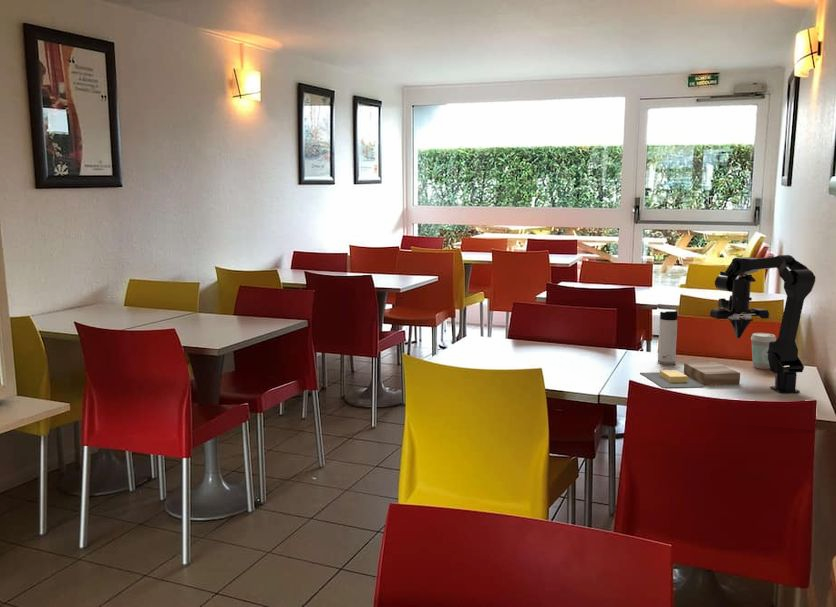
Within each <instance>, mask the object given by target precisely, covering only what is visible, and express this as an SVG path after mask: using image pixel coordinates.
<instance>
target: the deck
mask: <svg viewBox="0 0 836 607" xmlns="http://www.w3.org/2000/svg"><path fill="white" fill-rule="evenodd" d="M683 374H685V375H686V376H688V377H689V378H690V379H692V380H694V381H696V382H697V383H699V384H701V385H703V386H704V387H705V386H706V387H709V386H710V387H712V386H713V387H714V386H739V385H740V383H741V382H740V381H741V372H739V371H737V370H735V369H732V368H730V367H728V366H726V365H723V364H722V363H720V362H716V361H714V362H713V361H711V362H710V361H709V362H684V364H683Z"/></svg>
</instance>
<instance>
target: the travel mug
mask: <svg viewBox="0 0 836 607" xmlns="http://www.w3.org/2000/svg"><path fill="white" fill-rule="evenodd" d="M678 313H679V311H677V310H674V311H671V310H669V311H660V313H659V326H658V328H659V330H658V348H657V363H658V364H661V365H665V366H672V365H674V364H676V358H677V357H676V356H677V355H676V354H677V352H676V351H677V336H678V334H677V333H678V315H679V314H678Z"/></svg>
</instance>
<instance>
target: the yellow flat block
mask: <svg viewBox="0 0 836 607" xmlns="http://www.w3.org/2000/svg"><path fill="white" fill-rule="evenodd" d="M659 372H660V377H662V378H664V379H665V380H667V381H668V382H687V381H688V376H686V375H685V374H684V372H683V373H682V372H681V371H679V370H677V369H663V370H662V369H660V370H659Z"/></svg>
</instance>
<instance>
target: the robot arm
mask: <svg viewBox="0 0 836 607" xmlns="http://www.w3.org/2000/svg"><path fill="white" fill-rule="evenodd" d="M731 260H732V261H731V262H730V264H729V265H728V267H727V269H726V270H723V271H722V270H721V271H719V272H720V273H719V275H717V277H715V280H714V285H715V288H716V289H717V290H720V291H725V292H729V293H730V292H731V295H729V298H728V300H727V299H726V298H724V297H722V298H718V300H717V301H718V302H717V304H718V308H711V310H710V312H709V317H710V318H714V319H716V320H727V321H729V322H730V323H731V325H732V328H733V331H734V334H735V338H736V339H741V337H742V336H743V334H744V332H745V330H746V329H747V327H748V326H749V325H750V323H751V322H753V321H754V319H753V318H752V317H757V316H758V317H759V319H770V312H769V310H768V309H764V308H762V307H758V308H757V307H755V308H754V307H753V308H750V302H751V301H752V300H753V298H752V297H751V285H752V283H756V281H757V280H756V279H755V277H753V276H752V274H754V273H757V272H758V271H761V270H766V269H767V270H768V269H769V270H770V269H778V270H777V271H778V276H779V277H780V279H782V281H783V289H784V292H785V295H786V300H785V303H784V304H785V305H784V309H783V312H782V313H783V314H782V318H781V323H780V328H779V331H778V337H777V338H776V341H772V342H770V343H769V349H768V352H767V353H768V360H769V366H770V368H769V370H770V372H773V373H774V374H775V376H774V377H775V379H774V385H772V386H770V387H769V388H770V389H772V390H774V391H777V392H778V393H780V394H785V393H786V394H789V393H795V394H796V393H800V392H801V391H800V390H799V389H797V388H796V387H797V373H803V371H804V368H805V366H804V364H803V362H802V361H801V359H800V357H799V356H798V355H799V348H798V345H797V343H796V338H797V333H798V329H799V325H800V321H801V320H800V319H801V316H802V312H803V307H804V302H805V300H806V298H807V296H808V295H809V294H810V293H811V292H812V290H813V288H814V285H815V283H816V275H815V274H814V272H813V271H812V270H810V269H809V268H808V266H806V265H805V264H803V263H801V262H799V261H798V260H796V259H795V257H793V256H792V255H790V254H781V255H780V254H778V255H776V256H768V257H759V258H757V257H751V256H750V257H749V256H748V257H746V256H745V257H734V258H732V259H731Z"/></svg>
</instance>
